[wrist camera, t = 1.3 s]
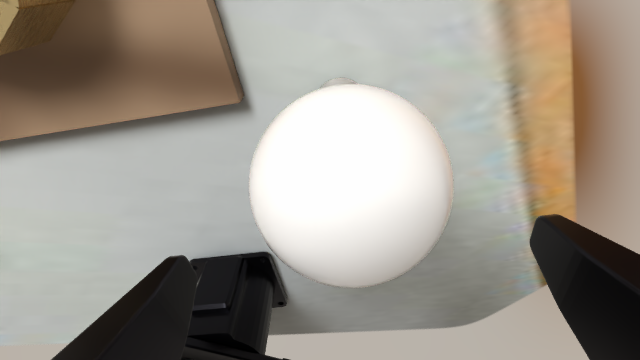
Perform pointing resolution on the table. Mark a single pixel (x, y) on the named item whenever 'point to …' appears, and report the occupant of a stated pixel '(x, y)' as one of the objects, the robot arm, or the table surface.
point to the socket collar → (30, 22)
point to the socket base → (118, 67)
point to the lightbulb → (351, 185)
